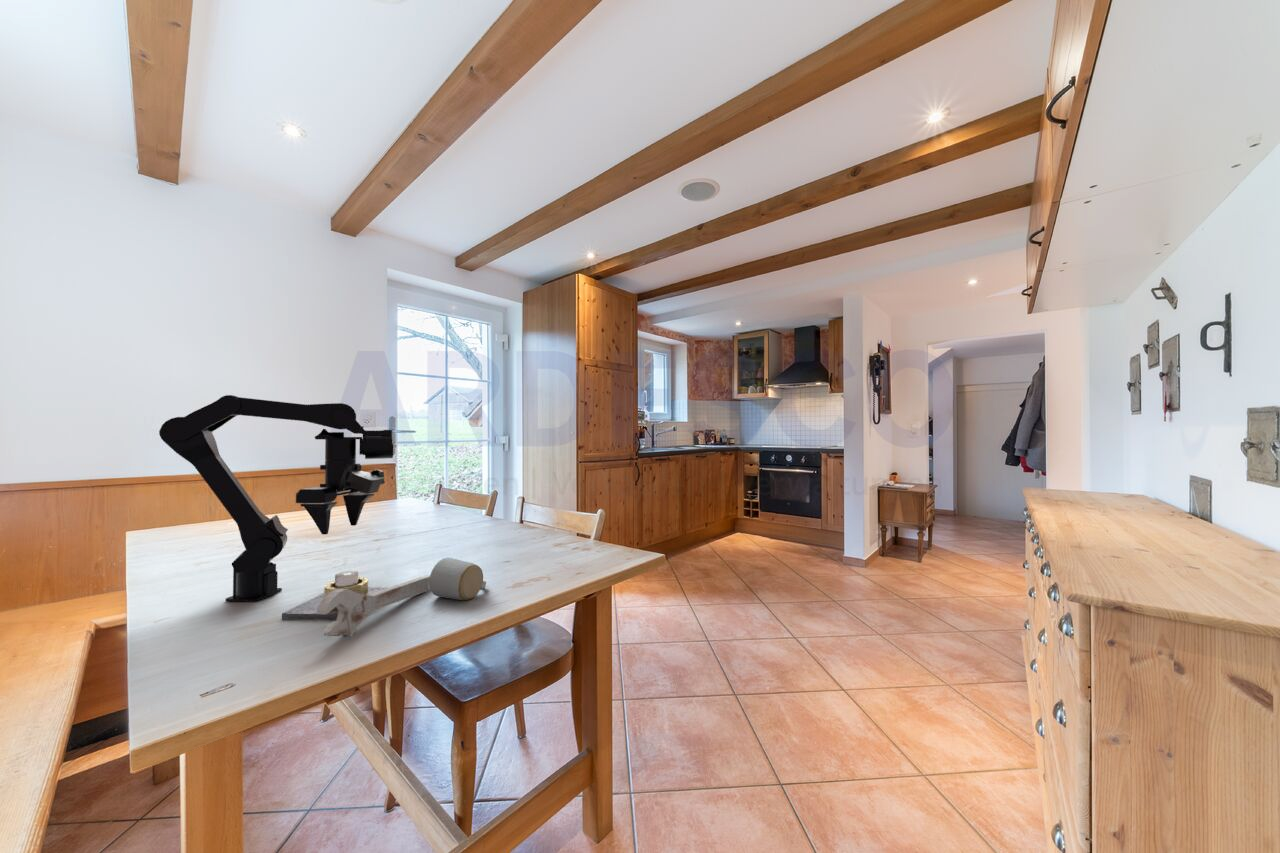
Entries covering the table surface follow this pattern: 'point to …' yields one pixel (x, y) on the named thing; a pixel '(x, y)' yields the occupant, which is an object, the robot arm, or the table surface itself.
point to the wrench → (365, 604)
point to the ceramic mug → (456, 579)
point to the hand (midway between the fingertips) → (339, 529)
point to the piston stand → (311, 606)
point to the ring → (359, 588)
